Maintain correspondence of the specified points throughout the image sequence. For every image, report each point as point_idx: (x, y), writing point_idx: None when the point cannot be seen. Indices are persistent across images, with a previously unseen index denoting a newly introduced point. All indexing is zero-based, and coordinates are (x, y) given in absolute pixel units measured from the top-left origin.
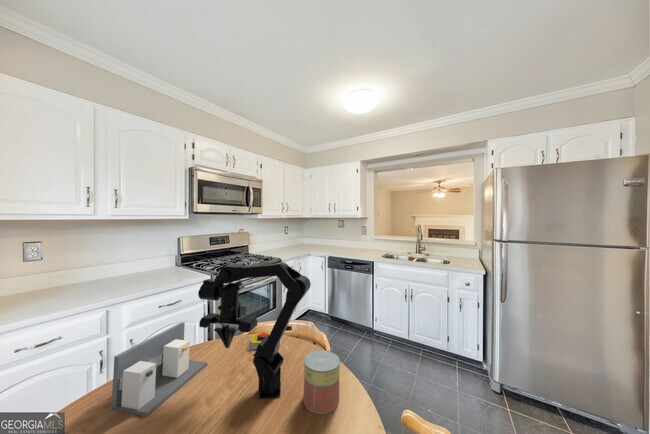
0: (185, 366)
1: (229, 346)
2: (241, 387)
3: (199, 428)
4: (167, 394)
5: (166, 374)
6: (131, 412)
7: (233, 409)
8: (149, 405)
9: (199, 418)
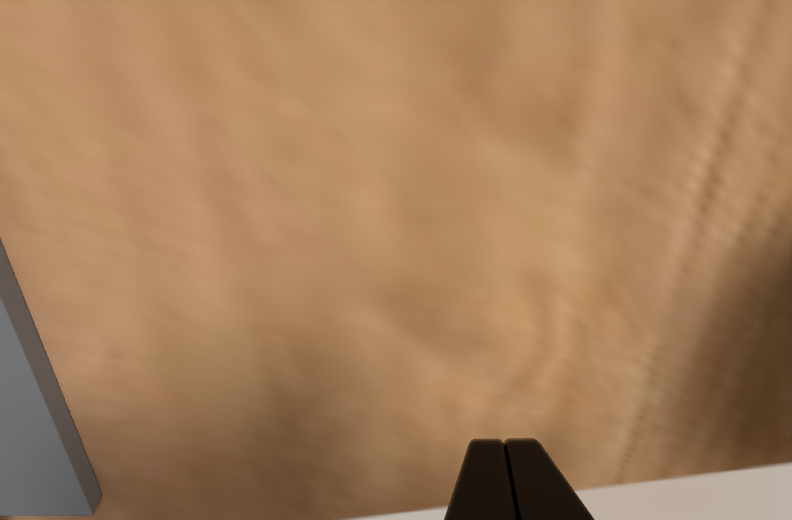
0: None
1: (541, 455)
2: (682, 103)
3: None
4: (21, 382)
5: None
6: None
7: (709, 353)
8: (25, 475)
9: None
